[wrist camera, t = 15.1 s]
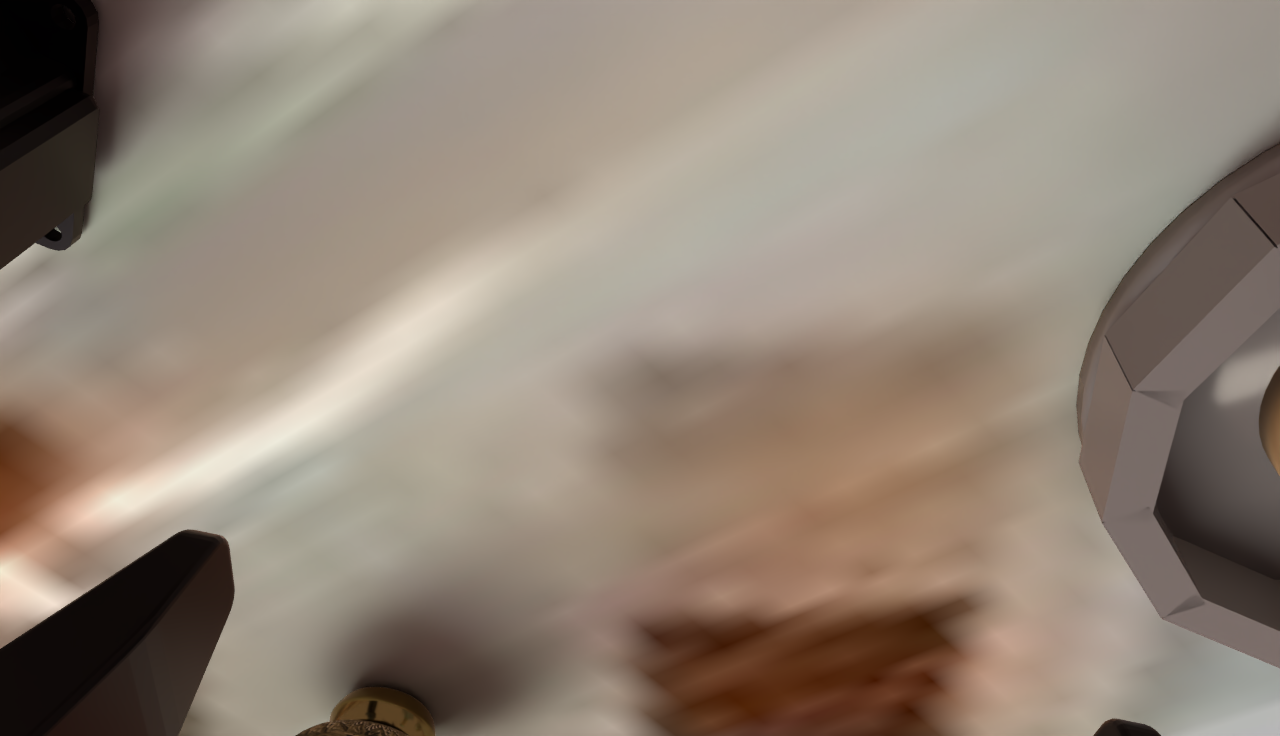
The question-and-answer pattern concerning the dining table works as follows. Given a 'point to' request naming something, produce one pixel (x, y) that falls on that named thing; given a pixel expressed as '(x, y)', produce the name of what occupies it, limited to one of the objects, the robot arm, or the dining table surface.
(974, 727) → the dining table surface
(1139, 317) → the round tray
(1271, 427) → the disc
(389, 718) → the cup
